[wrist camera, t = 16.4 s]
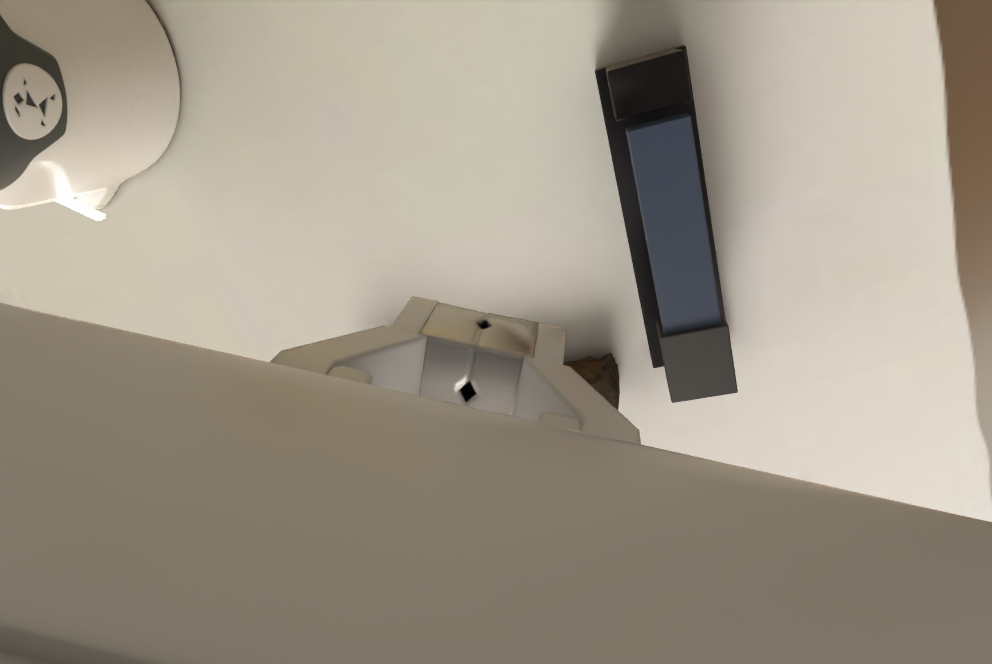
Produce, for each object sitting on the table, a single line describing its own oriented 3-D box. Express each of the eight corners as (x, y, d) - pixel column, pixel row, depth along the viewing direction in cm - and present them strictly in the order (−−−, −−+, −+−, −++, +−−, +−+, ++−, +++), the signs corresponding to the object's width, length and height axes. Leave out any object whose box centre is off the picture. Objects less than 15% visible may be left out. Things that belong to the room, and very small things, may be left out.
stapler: (727, 347, 45) (743, 386, 40) (651, 360, 46) (659, 399, 41) (683, 45, 37) (697, 46, 33) (594, 69, 39) (595, 74, 34)
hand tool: (617, 344, 46) (620, 374, 42) (619, 393, 48) (621, 427, 43) (365, 352, 49) (343, 381, 45) (374, 397, 51) (354, 429, 46)
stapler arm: (730, 374, 40) (738, 393, 38) (667, 384, 41) (671, 403, 38) (691, 110, 34) (698, 114, 32) (619, 128, 35) (621, 134, 33)
